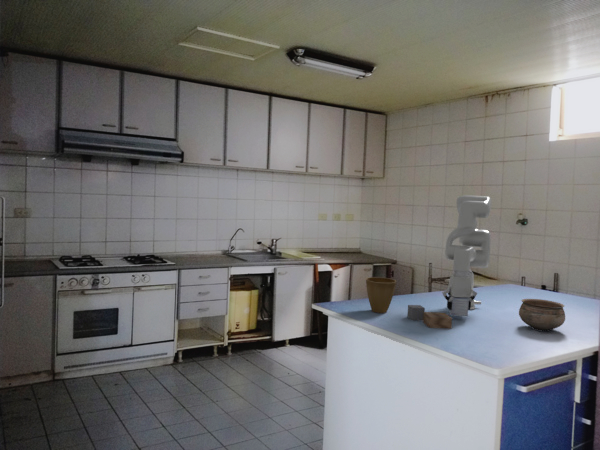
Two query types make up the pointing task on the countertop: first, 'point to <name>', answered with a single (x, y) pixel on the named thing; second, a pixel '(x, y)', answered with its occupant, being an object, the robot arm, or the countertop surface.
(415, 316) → the charcoal cube
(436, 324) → the walnut block
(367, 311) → the countertop surface
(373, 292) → the plant pot
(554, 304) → the cooking pot
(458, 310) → the medicine box
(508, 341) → the countertop surface
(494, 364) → the countertop surface
